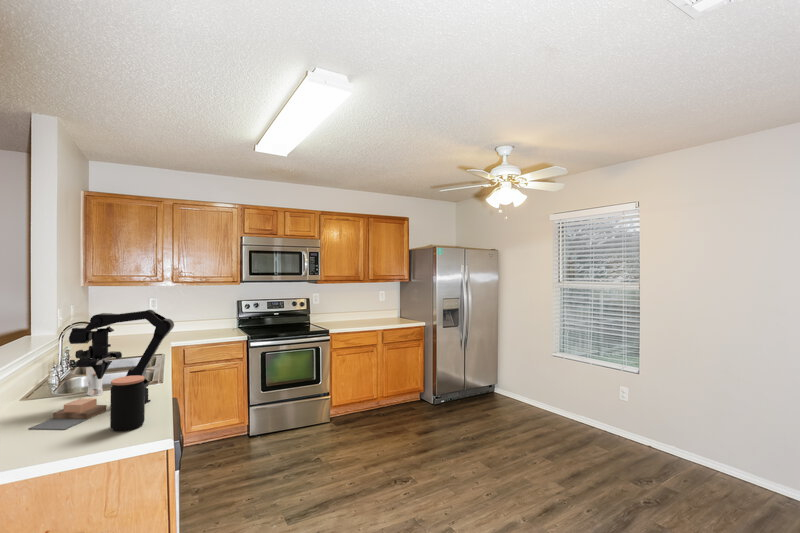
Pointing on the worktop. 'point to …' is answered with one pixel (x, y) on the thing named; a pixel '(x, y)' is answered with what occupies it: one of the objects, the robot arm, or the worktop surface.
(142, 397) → the coffee jar
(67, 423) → the charcoal mat
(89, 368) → the beer glass
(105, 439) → the worktop surface
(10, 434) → the worktop surface
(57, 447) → the worktop surface
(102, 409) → the walnut ledge
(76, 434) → the worktop surface
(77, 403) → the terracotta tile
